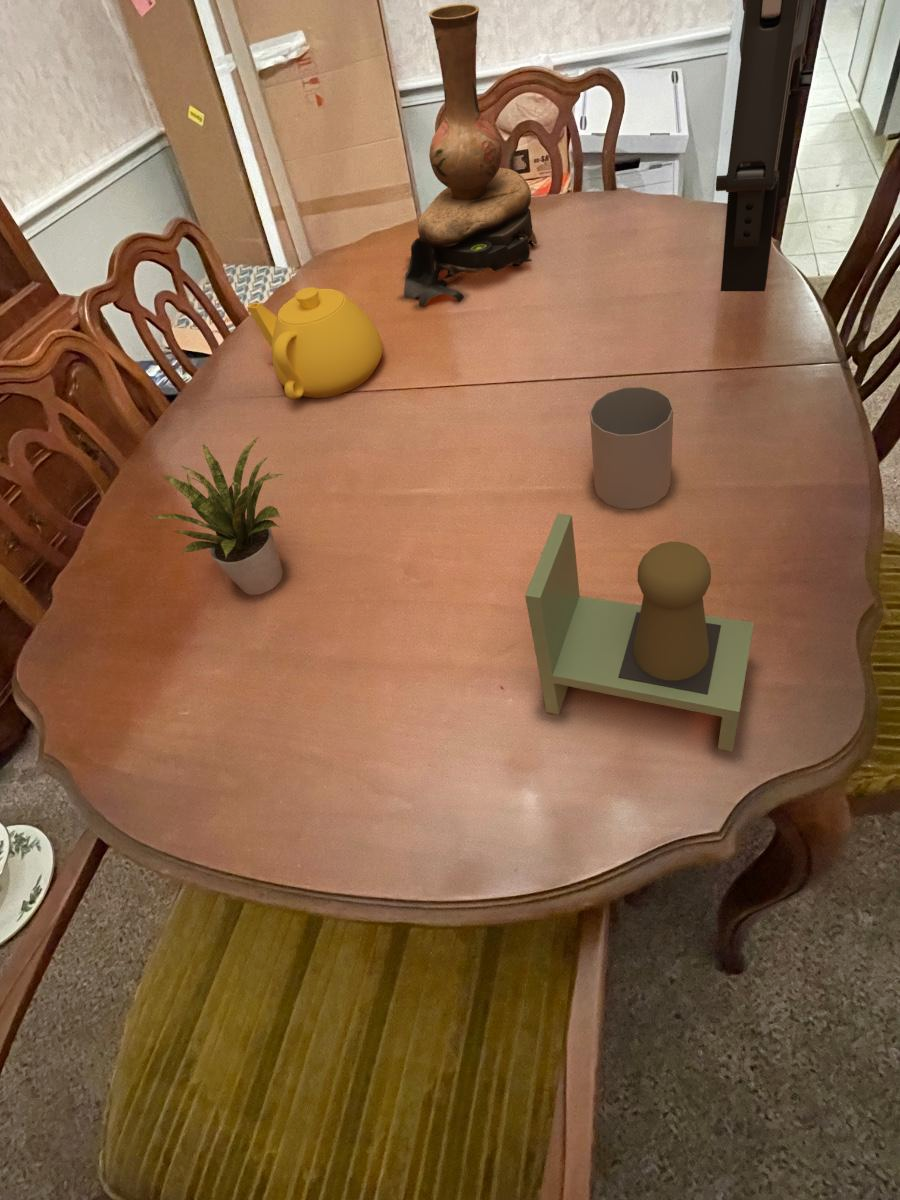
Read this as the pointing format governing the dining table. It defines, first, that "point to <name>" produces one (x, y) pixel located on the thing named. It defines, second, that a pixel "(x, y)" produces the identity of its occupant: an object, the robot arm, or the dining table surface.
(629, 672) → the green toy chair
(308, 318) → the teapot
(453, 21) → the vase
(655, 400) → the cup
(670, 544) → the brown peg doll
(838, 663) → the dining table surface
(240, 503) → the house plant
